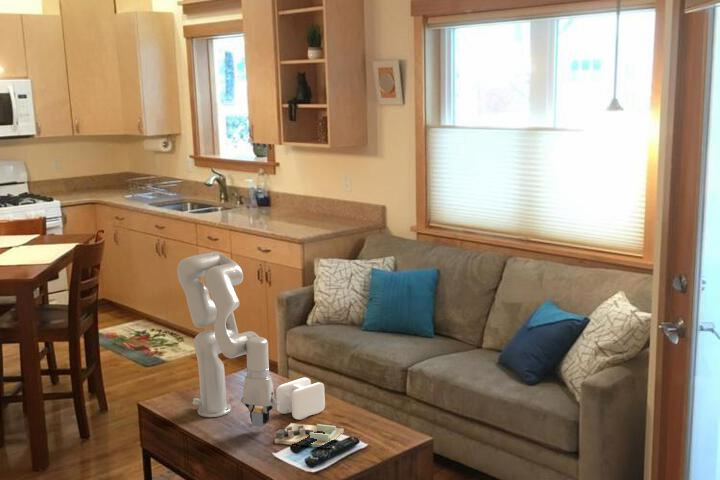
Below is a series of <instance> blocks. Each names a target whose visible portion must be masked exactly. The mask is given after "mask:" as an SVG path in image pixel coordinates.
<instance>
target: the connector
mask: <svg viewBox="0 0 720 480" xmlns="http://www.w3.org/2000/svg"><path fill="white" fill-rule="evenodd" d="M263 413H264V409H263V406H257V405H255V408H254V409H253V411H252V412H251V414H252V422H251V426H252V427H259V428H263V427H264V426H265V425H266V424H264V423H263Z"/></svg>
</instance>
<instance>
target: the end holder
mask: <svg viewBox="0 0 720 480" xmlns="http://www.w3.org/2000/svg"><path fill="white" fill-rule="evenodd" d="M316 426H317V431H323V432H331V435H330V436H329V434H323V433H313V432H310V438H314V439H317V440H322V441H329V440H331V439H332V438H333V437H334V436H335V434H336V428H337V426H336V425H329V424H319V423H317V424H316Z"/></svg>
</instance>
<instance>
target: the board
mask: <svg viewBox="0 0 720 480" xmlns="http://www.w3.org/2000/svg"><path fill="white" fill-rule="evenodd" d="M310 432H313V433H314V432H317V425H313V424H302V423H292V422H290V424H289V425H287V426H286V427H285V429H278V430H277V431H276V432H275V439H274V443H275V444H282V445H289V446H293V445H292V444H294V443H297V442H299V441H301V440H303V439H305V438H307V437H308V436H309V435H310ZM325 434H329V436H330V435H331V432H325ZM341 434H342V435H343V434H344V428H340V427H336V434H335V436H334V437H333V438H332V439H331V440H334V439H337V438H338V437H339V436H340V435H341ZM342 435H341V436H342ZM341 436H340V437H341ZM340 437H339V438H340ZM339 438H338V439H339ZM331 440H329V441H331ZM329 441H322V440H317V441H315V442H313V443H311V444H312V445H314V446H321V445H324V444H325V443H327V442H329Z"/></svg>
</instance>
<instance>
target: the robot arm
mask: <svg viewBox="0 0 720 480" xmlns="http://www.w3.org/2000/svg"><path fill="white" fill-rule="evenodd" d="M176 271H177V272H176V273H177V279H178V282H179V284H180V286H181V287H182V289H183V291H184V292H183V293H184V295H185V297H186V302H187V306H188V309H189V310H188V311H189V314H190V319H191V320H192V324H193V325H194V327H196V328H198V329H199V328H207V327H211V326H214V328H211V329H207V330H204V331H202V332H200V333H198V334H197V335H196V336H195V337H194V338H193V348H194V352H195V356H196V359H197V360H196V361H197V367H198V369H197V370H198V378H199V379H198V380H199V382H198V383H199V392H200V398H198V397H197V398H196V397H194V398H193V399H192V406H198V408H197V409H196V410H197V414H198V415H199V416H201V417H203V418H204V417H205V418H218V417H223V416H225V415H227V414H229V413H230V412H231V411H232V405H231V404H230V403H228V401H227V388H226V386H227V385H226V376H225V375H226V372H225V365H224V362H223V361H222V359H220V358H219V354H222V355H223V356H224V357H225V358H228V359H234V358H237V357H240V356H243V355H246V367H244V368H243V372H246V375H245V376H244V381H243V382H244V383H243V394H242V397H241V399H240V402H241V403H242V404H243V405H245V407H246V408H247V409H248V411H249V419H250V422H251V423H252V414H251V412H252V411H253V409H254V408H255V407H256V406H261V407H263V409H264V413H263V423H264V424H265V425H266V424H267V423H268V422H269V421H270V411H271V410H272V409H274V408H277V405H278V403H277V399H276V398H275V392H274V384H273V380H272V376H271V375H270V364H269V363H270V361H269V359H270V358H269V341H268V340H267V338H265V337H263V336H260V335H258V334H257V333H256V332H254V331H252V330H248V331H244V332H240V333H239V329H238V326H237V322H236V317H235V313H234V312H235V311H236V309H238V307H239V306H240V299H239V297H238V294H237V293H236V291H235V290H236V289H235V288H234V286H238V285H240V284H242V282H243V281H244V272H243V270H242V268H241V267H240V265H239V264H238V263H237V262H236V261H235V260H233V259H232V258H230V257H228V256H226V255H225V254H224V253H221V252H219V251H212V252H207V253H202V254H196V255H191V256H188V257H187V256H186V257H185V258H183V259H182V260H180V261H179V263H178V266H177V270H176ZM201 278H203V280H204V282H205V283H204V282H203V281H202V280H201Z"/></svg>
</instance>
